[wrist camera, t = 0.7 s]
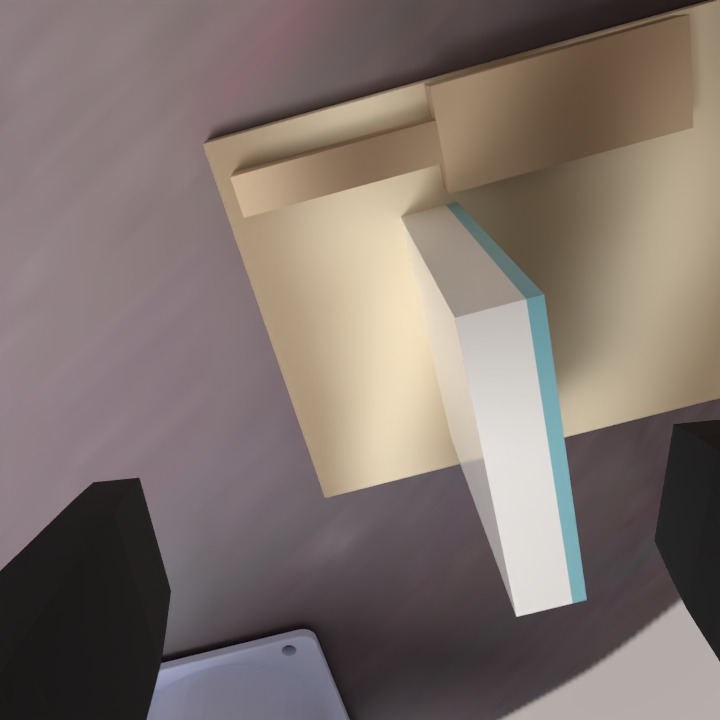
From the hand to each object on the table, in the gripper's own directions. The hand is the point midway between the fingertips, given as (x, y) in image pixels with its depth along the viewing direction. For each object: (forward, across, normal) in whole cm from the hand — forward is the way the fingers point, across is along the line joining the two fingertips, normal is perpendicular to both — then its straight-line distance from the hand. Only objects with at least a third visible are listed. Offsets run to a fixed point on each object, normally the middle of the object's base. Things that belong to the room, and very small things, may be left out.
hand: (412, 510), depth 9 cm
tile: (+10, -2, +2) cm, 10 cm away
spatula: (+10, -3, -4) cm, 11 cm away
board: (+10, -4, +1) cm, 11 cm away
